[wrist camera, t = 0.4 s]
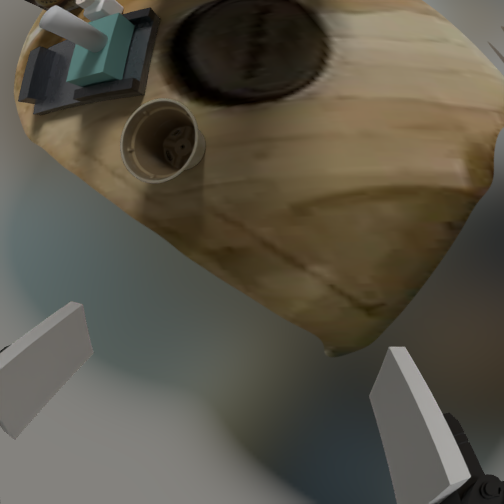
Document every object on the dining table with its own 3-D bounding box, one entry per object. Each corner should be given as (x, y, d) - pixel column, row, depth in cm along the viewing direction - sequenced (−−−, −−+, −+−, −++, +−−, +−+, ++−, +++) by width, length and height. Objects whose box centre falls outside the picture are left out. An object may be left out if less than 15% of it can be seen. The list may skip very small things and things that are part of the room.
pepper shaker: (108, 11, 29) (79, -10, 20) (125, 7, 29) (97, -17, 20) (100, 28, 30) (69, 9, 21) (118, 24, 30) (88, 2, 21)
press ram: (99, 35, 28) (36, 0, 13) (134, 25, 28) (75, -21, 13) (86, 88, 31) (11, 66, 16) (121, 81, 31) (46, 47, 15)
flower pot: (140, 156, 36) (106, 153, 27) (179, 101, 33) (152, 84, 25) (188, 195, 36) (162, 201, 28) (232, 139, 34) (216, 127, 26)
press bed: (54, 50, 31) (33, 42, 25) (160, 18, 29) (143, 0, 23) (40, 115, 35) (16, 112, 29) (144, 94, 33) (121, 83, 27)
